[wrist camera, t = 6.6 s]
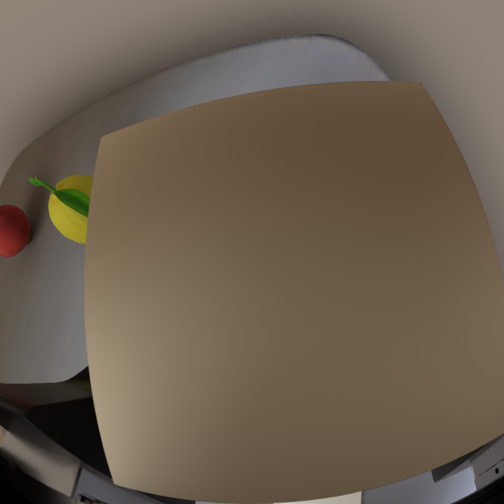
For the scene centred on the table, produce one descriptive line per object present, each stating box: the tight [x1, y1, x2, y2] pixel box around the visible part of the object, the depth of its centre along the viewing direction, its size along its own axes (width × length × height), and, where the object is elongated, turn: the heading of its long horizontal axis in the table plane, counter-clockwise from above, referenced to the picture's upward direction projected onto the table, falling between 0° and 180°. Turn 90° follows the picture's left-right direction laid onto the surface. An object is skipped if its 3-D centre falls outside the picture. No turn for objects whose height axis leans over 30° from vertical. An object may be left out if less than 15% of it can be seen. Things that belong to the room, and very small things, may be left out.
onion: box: [0, 205, 30, 257], centre depth 22 cm, size 6×6×8 cm
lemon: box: [29, 175, 93, 244], centre depth 19 cm, size 7×6×10 cm
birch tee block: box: [84, 81, 504, 504], centre depth 9 cm, size 6×14×13 cm, turn 97°
